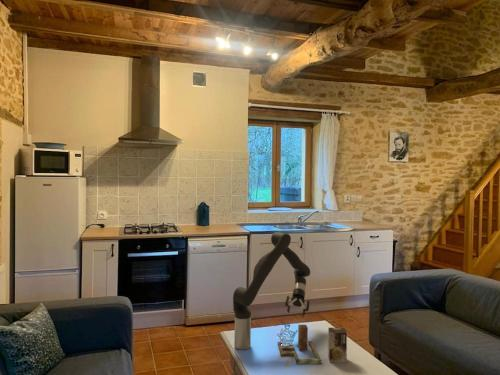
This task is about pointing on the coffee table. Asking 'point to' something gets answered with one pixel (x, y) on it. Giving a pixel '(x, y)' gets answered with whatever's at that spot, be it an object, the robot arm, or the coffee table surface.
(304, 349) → the walnut block
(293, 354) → the trap lane
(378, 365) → the coffee table surface
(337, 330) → the coffee box
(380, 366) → the coffee table surface
